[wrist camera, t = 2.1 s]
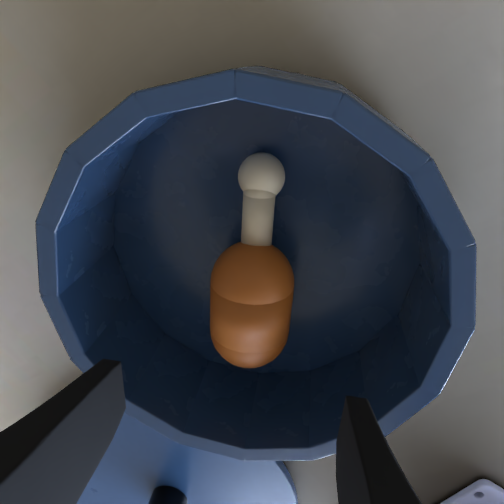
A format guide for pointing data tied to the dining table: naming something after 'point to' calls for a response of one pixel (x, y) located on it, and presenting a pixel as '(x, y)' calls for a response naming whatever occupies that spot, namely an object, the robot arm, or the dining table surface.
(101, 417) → the robot arm
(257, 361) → the drumstick
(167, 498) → the lid
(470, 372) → the dining table surface
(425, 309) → the pot
